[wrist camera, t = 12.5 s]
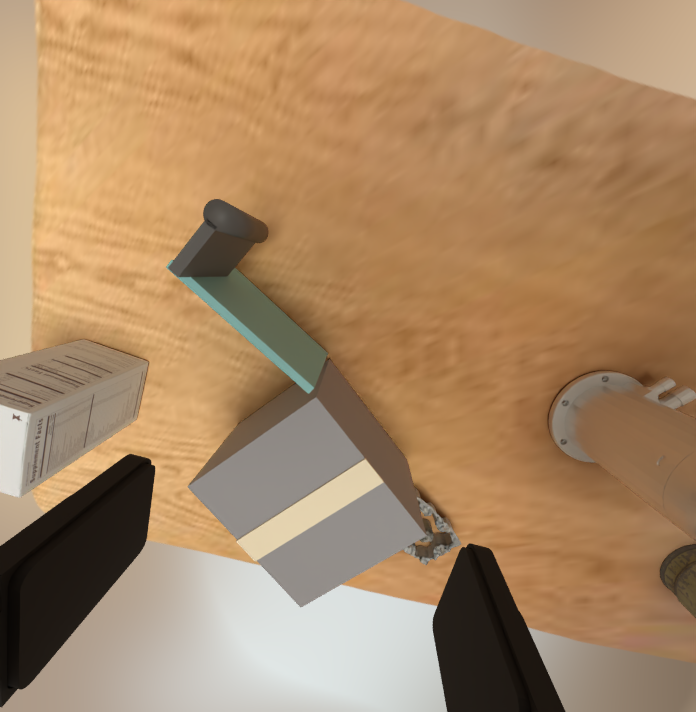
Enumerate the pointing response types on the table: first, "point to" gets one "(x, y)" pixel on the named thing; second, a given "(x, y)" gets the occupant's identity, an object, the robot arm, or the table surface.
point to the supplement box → (62, 408)
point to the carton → (313, 488)
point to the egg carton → (433, 535)
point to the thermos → (681, 576)
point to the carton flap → (244, 291)
